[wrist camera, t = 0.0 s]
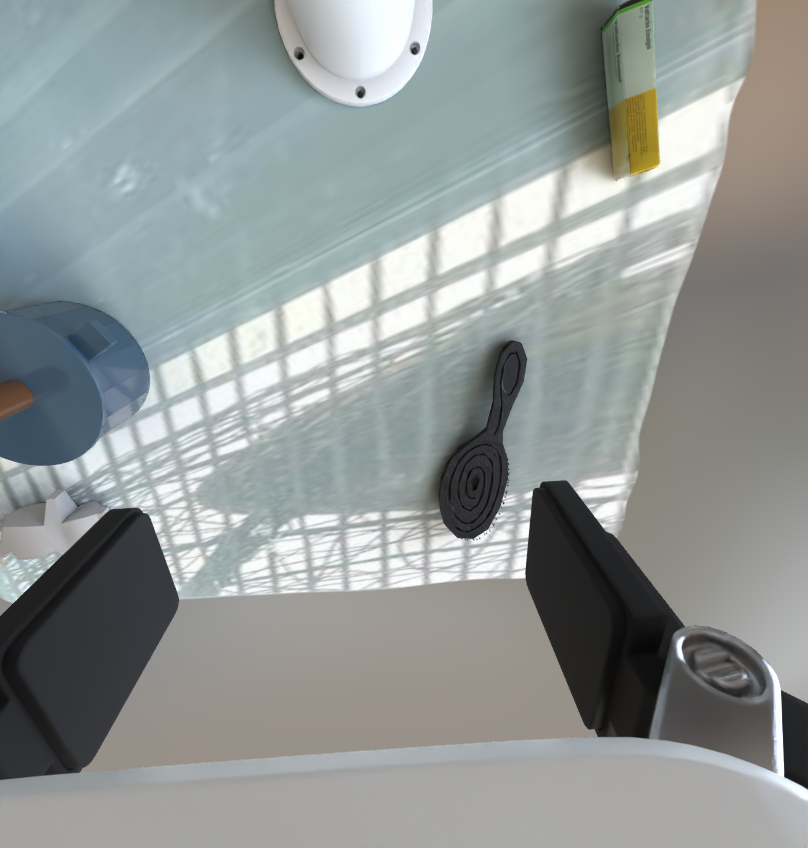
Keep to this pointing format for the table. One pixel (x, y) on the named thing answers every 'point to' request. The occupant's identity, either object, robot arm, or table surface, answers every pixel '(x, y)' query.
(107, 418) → the canister
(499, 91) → the table surface
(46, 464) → the lid
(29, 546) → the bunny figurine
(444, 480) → the hairbrush
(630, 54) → the medication box
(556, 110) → the table surface
